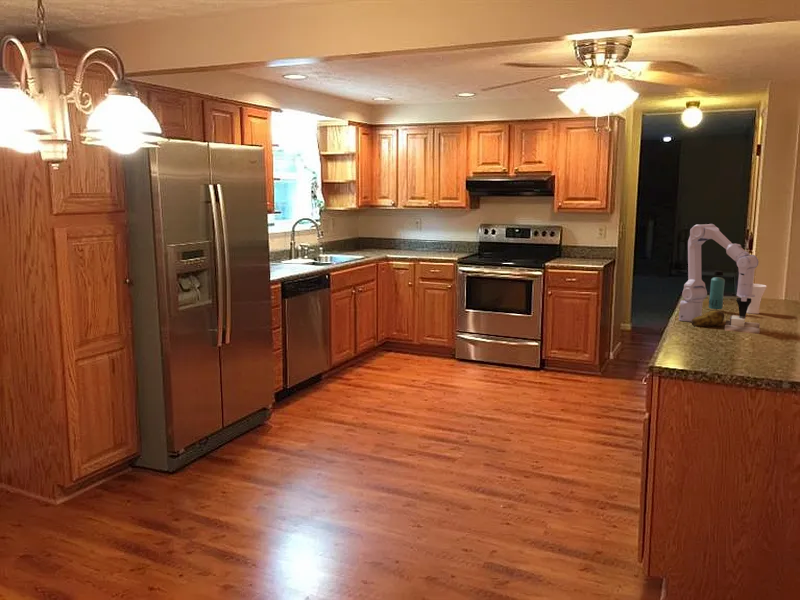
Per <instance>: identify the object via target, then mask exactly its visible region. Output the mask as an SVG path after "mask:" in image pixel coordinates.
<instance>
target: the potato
mask: <svg viewBox="0 0 800 600" xmlns="http://www.w3.org/2000/svg"><path fill="white" fill-rule="evenodd" d="M724 319H725V314H724V312H722V311H721V310H720V309H711V310H710V311H707V312H705V313H704V314H702V315H701V316H698V317H695V318H694V319H692V321H690V322H691V325H692V326H693V327H694V328H695V327H713V326H717V325H720V324H723V322H724Z"/></svg>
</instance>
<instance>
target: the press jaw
mask: <svg viewBox="0 0 800 600" xmlns="http://www.w3.org/2000/svg"><path fill="white" fill-rule="evenodd" d="M746 315H747V314H746ZM746 315H745V317H743V316H740V315H738V314H737V315H735V314H732V315H730V316H729V321H730V323H729V325H732V326H742V327H744V323H745V322H746V321H745V320H746Z"/></svg>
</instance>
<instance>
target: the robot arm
mask: <svg viewBox="0 0 800 600" xmlns="http://www.w3.org/2000/svg"><path fill="white" fill-rule="evenodd" d="M708 240H713V241H715V242H716V243H717V244H719V245H720V246H721V247H723V248H724V249H725V251H726V252H725V253H726V255H727V256H728V257H730V258H731V259H732V260H733V261H734V262H735V263H736V266H737V267H738V268H737V269H738V279H737V289H736V296H737V297H736V303H737V306H738V313H739V315H740V316H743V317H745V315H747V313H746V312H747V309H748V306H749V305H750V303H751V298H750V297H755V295H752V291H753V284H754V281H755V278H754V277H755V273H756V272H755V270H756V268H757V267H758V266H759V259H758V257H757V256H756V255H755V254H750V252H749V251H746V250H745V249H744V248H743V247H742V245H741V244H740V243H732V241H730V240H729V239H728V237H726V235H725V234H723V233H722V232H721V231H720V227H717V226H716V225H715V224H713V223H709V224H707V223H705V224H695V225H693V226H692V227H691V228H690V230H689V237H688V240H687V264H688V265H687V266H688V267H687V270H688V272H687V276H688V277H687V279H688V280H687V281H686V282H685V283H684V284H683V290H682V293H681V294H682V298H683V299H681V300H680V303H679V304H680V305H679V311H678V321H680V322H681V321H684V322H692V319H694V318H695V317H698V316H702V315H703V314H702V313H703V312H702V311H703V304H704V303H703V302H704V301H705V299H706V297H707V295H708V291H707V288H706V282H705V281H703V279H702V278H703V277H702V274H703V273H702V245H703V244H704V243H705V242H706V241H708ZM739 315H738V316H739Z"/></svg>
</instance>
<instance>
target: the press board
mask: <svg viewBox="0 0 800 600" xmlns="http://www.w3.org/2000/svg"><path fill="white" fill-rule="evenodd" d="M729 323H730V319H728V320H727V319H726V320H725V325H724V331H726V332H727V331H728V332H735V333H746V334H747V333H748V334H758V335H760V333H761V332H760V331H761V328H760V326H761V325H760V323H759V322H751V321H745V323H744V327H742V326H732V325H729Z"/></svg>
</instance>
